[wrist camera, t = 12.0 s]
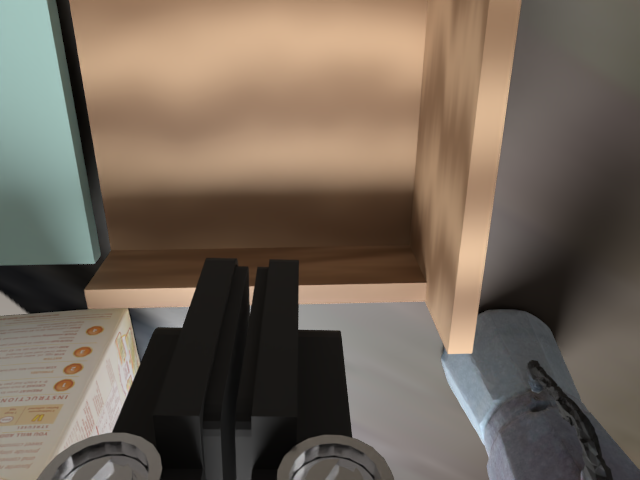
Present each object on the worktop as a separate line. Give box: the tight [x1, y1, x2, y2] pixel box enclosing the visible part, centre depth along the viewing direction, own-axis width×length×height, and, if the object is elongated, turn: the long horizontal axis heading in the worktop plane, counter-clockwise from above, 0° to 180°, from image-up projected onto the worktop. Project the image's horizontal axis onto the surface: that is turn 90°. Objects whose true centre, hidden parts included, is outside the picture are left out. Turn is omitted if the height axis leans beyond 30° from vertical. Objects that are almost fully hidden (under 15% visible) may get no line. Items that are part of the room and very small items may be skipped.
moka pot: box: [441, 309, 640, 480], centre depth 35 cm, size 10×15×20 cm, turn 19°
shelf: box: [69, 0, 521, 354], centre depth 29 cm, size 23×20×14 cm
